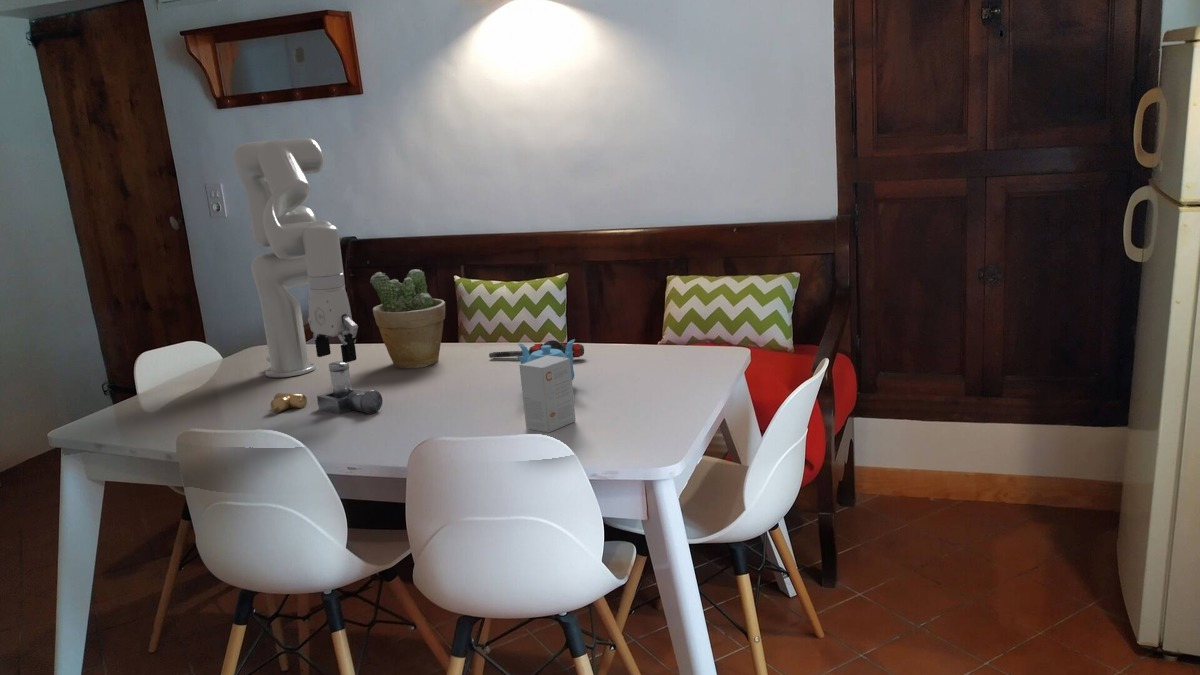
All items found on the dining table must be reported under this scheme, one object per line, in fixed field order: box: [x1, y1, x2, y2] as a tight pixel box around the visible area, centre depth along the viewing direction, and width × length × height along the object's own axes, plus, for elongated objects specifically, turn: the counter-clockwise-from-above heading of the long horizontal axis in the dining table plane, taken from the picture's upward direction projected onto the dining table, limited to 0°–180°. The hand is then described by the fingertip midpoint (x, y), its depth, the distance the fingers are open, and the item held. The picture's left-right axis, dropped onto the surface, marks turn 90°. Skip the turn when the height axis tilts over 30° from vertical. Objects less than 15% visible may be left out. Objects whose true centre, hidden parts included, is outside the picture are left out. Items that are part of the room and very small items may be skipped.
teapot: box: [515, 338, 576, 381], centre depth 208 cm, size 13×13×10 cm
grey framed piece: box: [316, 387, 383, 415], centre depth 205 cm, size 15×8×5 cm, turn 50°
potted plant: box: [369, 269, 446, 369], centre depth 241 cm, size 18×19×25 cm
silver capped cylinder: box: [328, 360, 352, 399], centre depth 207 cm, size 4×4×10 cm
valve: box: [488, 339, 585, 359], centre depth 240 cm, size 6×26×15 cm
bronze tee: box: [270, 392, 308, 414], centre depth 210 cm, size 7×6×3 cm
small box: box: [518, 356, 576, 434], centre depth 182 cm, size 8×6×13 cm
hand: (336, 358), depth 206 cm, fingers open, 9 cm apart
